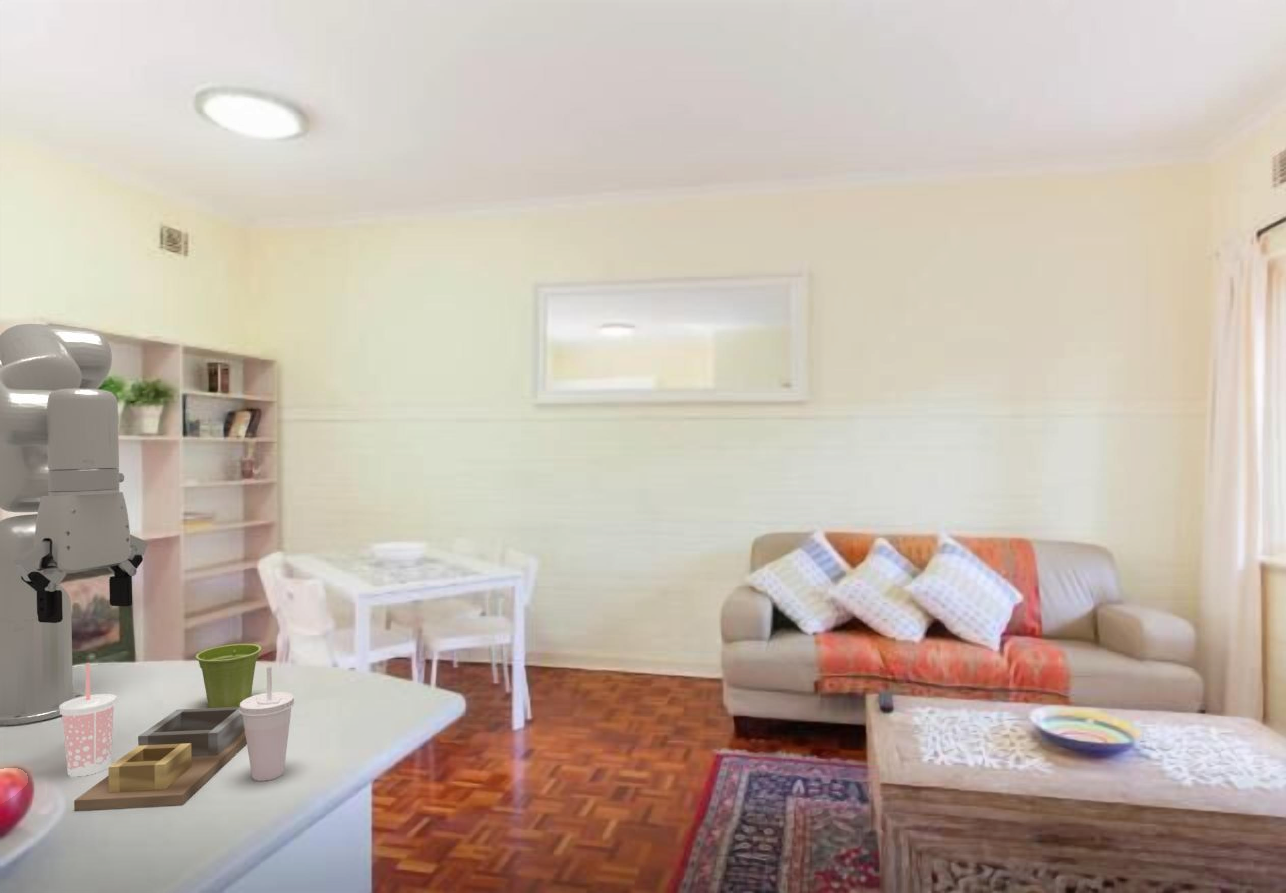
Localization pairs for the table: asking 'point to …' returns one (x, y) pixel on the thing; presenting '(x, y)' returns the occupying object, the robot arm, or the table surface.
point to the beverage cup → (88, 731)
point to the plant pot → (228, 673)
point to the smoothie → (267, 730)
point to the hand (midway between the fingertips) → (87, 613)
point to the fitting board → (170, 760)
